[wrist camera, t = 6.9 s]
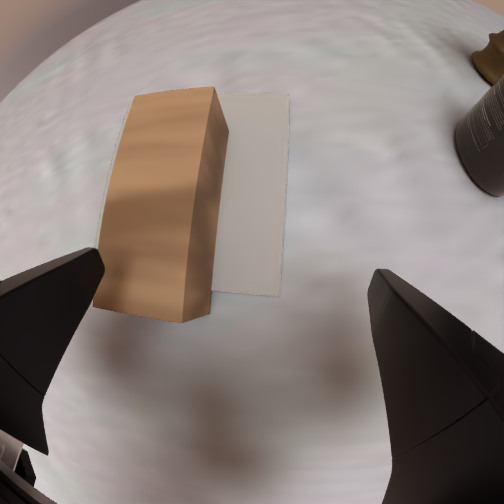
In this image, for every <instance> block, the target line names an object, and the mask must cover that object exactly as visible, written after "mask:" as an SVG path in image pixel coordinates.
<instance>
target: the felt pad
mask: <svg viewBox="0 0 504 504" xmlns="http://www.w3.org/2000/svg"><path fill="white" fill-rule="evenodd" d="M217 96H218V99H219V102H220V105H221V108H222V111H223V114H224V117H225V120H226V123H227V126H228V129H229V136H228V143H227V151H226V158H225V166H224V174H223V182H222V190H221V198H220V207H219V216H218V225H217V235H216V245H215V255H214V266H213V277H212V288H211V291H218V292H229V293H240V294H252V295H264V296H277V297H279V295H280V282H281V268H282V254H283V239H284V223H285V205H286V186H287V164H288V137H289V100H290V94H276V93H226V94H217ZM131 106H132V103H131V104H129V105H128V108H127V111H126V114H125V117H124V120H123V123H122V126H121V129H120V132H119V136H118V139H117V142H116V146H115V149H114V153H113V157H112V160H111V164H110V168H109V172H108V176H107V181H106V185H105V190H104V194H103V199H102V204H101V209H100V215H99V221H98V227H97V233H96V240H95V247H94V248H96V249H98V244H99V237H100V230H101V224H102V218H103V212H104V207H105V202H106V197H107V192H108V187H109V183H110V178H111V174H112V170H113V166H114V162H115V158H116V154H117V151H118V147H119V143H120V140H121V137H122V133H123V130H124V127H125V124H126V120H127V117H128V114H129V111H130V109H131Z"/></svg>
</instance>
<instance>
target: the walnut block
mask: <svg viewBox="0 0 504 504" xmlns="http://www.w3.org/2000/svg"><path fill="white" fill-rule="evenodd" d="M228 136H229V129H228V126H227V123H226V120H225V117H224V114H223V111H222V108H221V105H220V102H219V99H218V96H217V93H216V90H215V87H201V88H190V89H180V90H171V91H164V92H157V93H150V94H144V95H138V96H135V97H134V100H133V103H132V106H131V109H130V111H129V114H128V117H127V120H126V124H125V127H124V130H123V133H122V137H121V140H120V143H119V147H118V151H117V154H116V158H115V162H114V166H113V170H112V174H111V178H110V183H109V187H108V192H107V197H106V202H105V207H104V212H103V218H102V224H101V230H100V237H99V244H98V251H99V253H100V255H101V258H102V260H103V263H104V265H105V274H104V276H103V278H102V280H101V282H100V284H99V286H98V288H97V291H96V293H95V295H94V297H93V307H96V308H101V309H106V310H111V311H115V312H120V313H126V314H131V315H136V316H142V317H147V318H153V319H159V320H165V321H171V322H178V323H184V322H187V321H190V320H193V319H196V318H198V317H201V316H204V315H207V314H210V301H211V288H212V277H213V266H214V255H215V245H216V235H217V225H218V216H219V207H220V198H221V190H222V182H223V174H224V166H225V158H226V151H227V143H228Z"/></svg>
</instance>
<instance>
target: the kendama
mask: <svg viewBox="0 0 504 504" xmlns="http://www.w3.org/2000/svg"><path fill="white" fill-rule="evenodd" d="M489 39H490V41H489V44H488V45H487V46H486V48H484V49H483V50H482V51H476V52H474V53H472V60H473V62H474V64H475V66H476V68H477V69H478V70H479V71H480V73H481V74H482V75H483V76H484V77H485V78H486V79H487V80H488V81H489V82H490V83H492V84H493V85H494V84H495V83H496V81H497V80H498V79H499V78H500V77H501V76H502V75H503V73H504V30H503V31H501V32H500V33H497V34H495V33H491V34H489Z"/></svg>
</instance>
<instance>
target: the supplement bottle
mask: <svg viewBox="0 0 504 504" xmlns="http://www.w3.org/2000/svg"><path fill="white" fill-rule="evenodd" d="M456 143H457V148H458V152H459V155H460V157H461V160H462V162H463V164H464V166H465V168H466V169H467V171H468V173H469V174H470V176H471V177H472V178H473V180H474V181H475V182H476V183H477V184H478V185H479V186H480V187H481V188H482V189H484V190H485V191H486V192H488V193H490V194H492V195H495V196H504V73H503V75H502V76H501V77H500V78H499V79H498V80H497V81H496V83H495V84H494V85H493V86H492V87H491V88H490V89H489V90H488V91H487V93H486V94H485V95H484V96H483V97H482V98H481V99H480V100H479V101H478V102H477V103H476V105H475V106H474V107H473V108H472V109H471V110H470V111H469V112H468V113H467V114H466V115H465V116H464V117H463V119H462V120H461V121H460V122H459V124H458V126H457V130H456Z"/></svg>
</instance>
